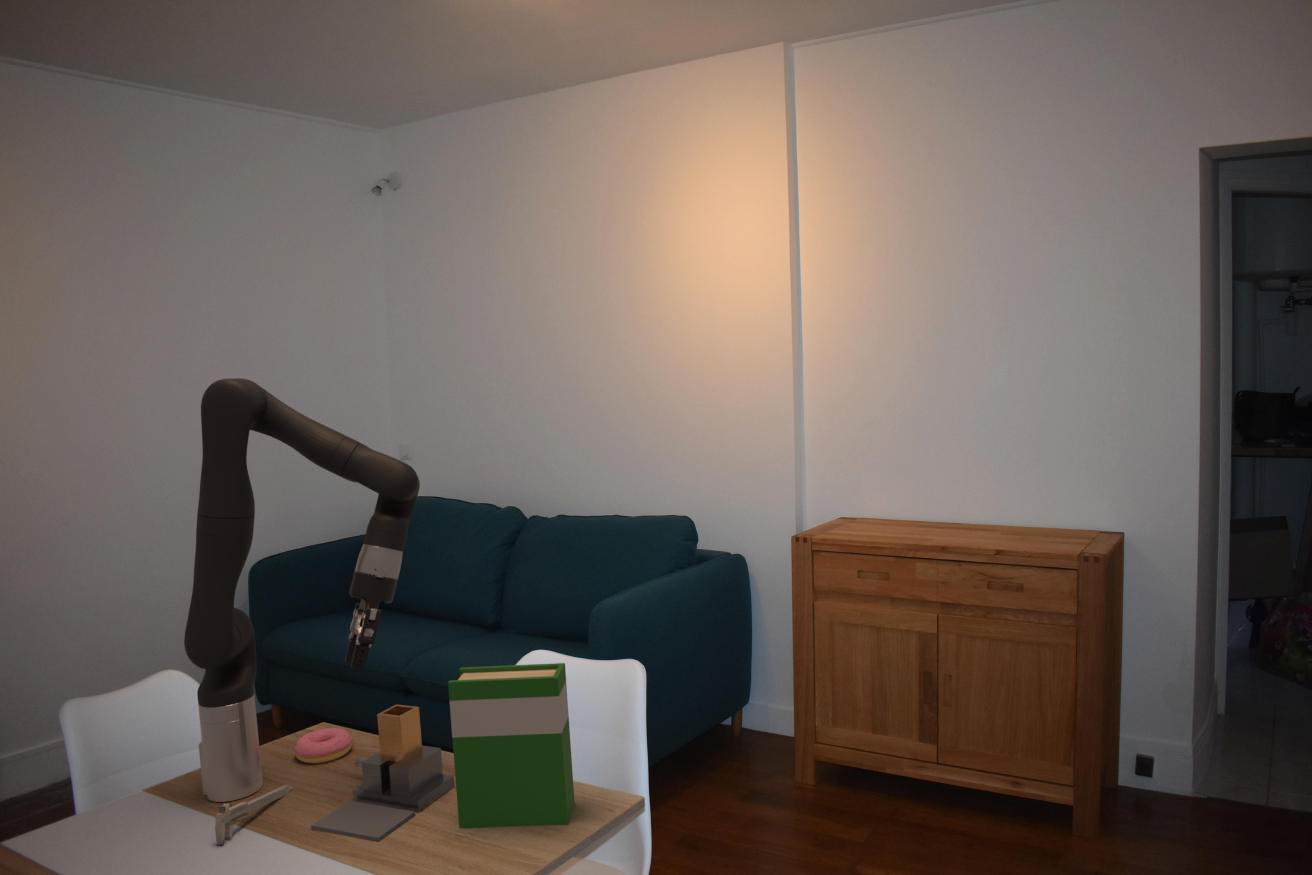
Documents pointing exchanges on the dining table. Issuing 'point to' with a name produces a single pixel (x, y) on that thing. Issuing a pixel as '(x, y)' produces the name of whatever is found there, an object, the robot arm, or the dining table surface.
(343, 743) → the doughnut
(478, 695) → the hardback book
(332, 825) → the slate pad
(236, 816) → the caliper
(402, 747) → the copper collar
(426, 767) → the grey slotted block
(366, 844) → the dining table surface
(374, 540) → the robot arm
